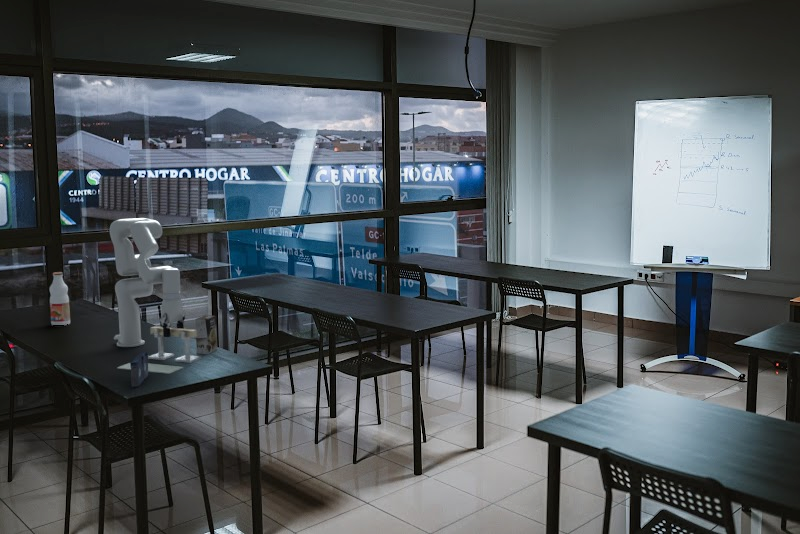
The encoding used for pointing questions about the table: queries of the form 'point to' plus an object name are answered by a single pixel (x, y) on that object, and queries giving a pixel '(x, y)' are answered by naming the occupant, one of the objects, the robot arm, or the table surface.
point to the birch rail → (176, 332)
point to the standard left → (160, 348)
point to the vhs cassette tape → (139, 369)
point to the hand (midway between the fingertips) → (173, 334)
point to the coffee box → (206, 334)
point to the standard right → (187, 351)
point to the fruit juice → (59, 301)
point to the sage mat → (155, 368)
